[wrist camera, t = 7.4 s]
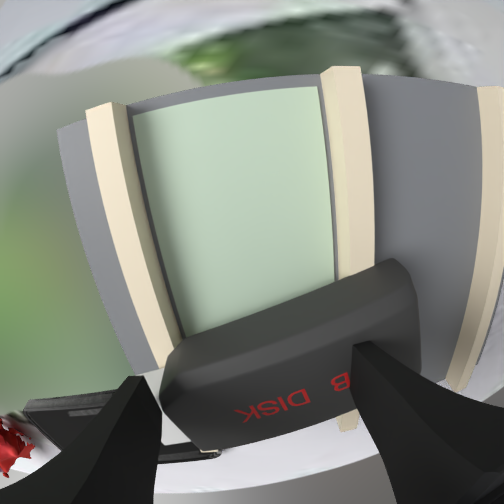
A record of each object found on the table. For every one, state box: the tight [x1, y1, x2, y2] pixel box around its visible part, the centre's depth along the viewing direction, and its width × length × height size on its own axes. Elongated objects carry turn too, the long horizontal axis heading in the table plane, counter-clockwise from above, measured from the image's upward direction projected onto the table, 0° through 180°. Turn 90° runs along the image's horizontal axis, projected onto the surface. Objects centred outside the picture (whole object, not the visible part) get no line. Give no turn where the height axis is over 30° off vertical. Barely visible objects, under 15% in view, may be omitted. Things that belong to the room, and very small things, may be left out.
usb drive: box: [135, 258, 422, 451], centre depth 11 cm, size 5×12×3 cm, turn 112°
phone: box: [23, 389, 222, 464], centre depth 17 cm, size 8×1×15 cm
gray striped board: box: [57, 66, 504, 452], centre depth 13 cm, size 22×18×2 cm
